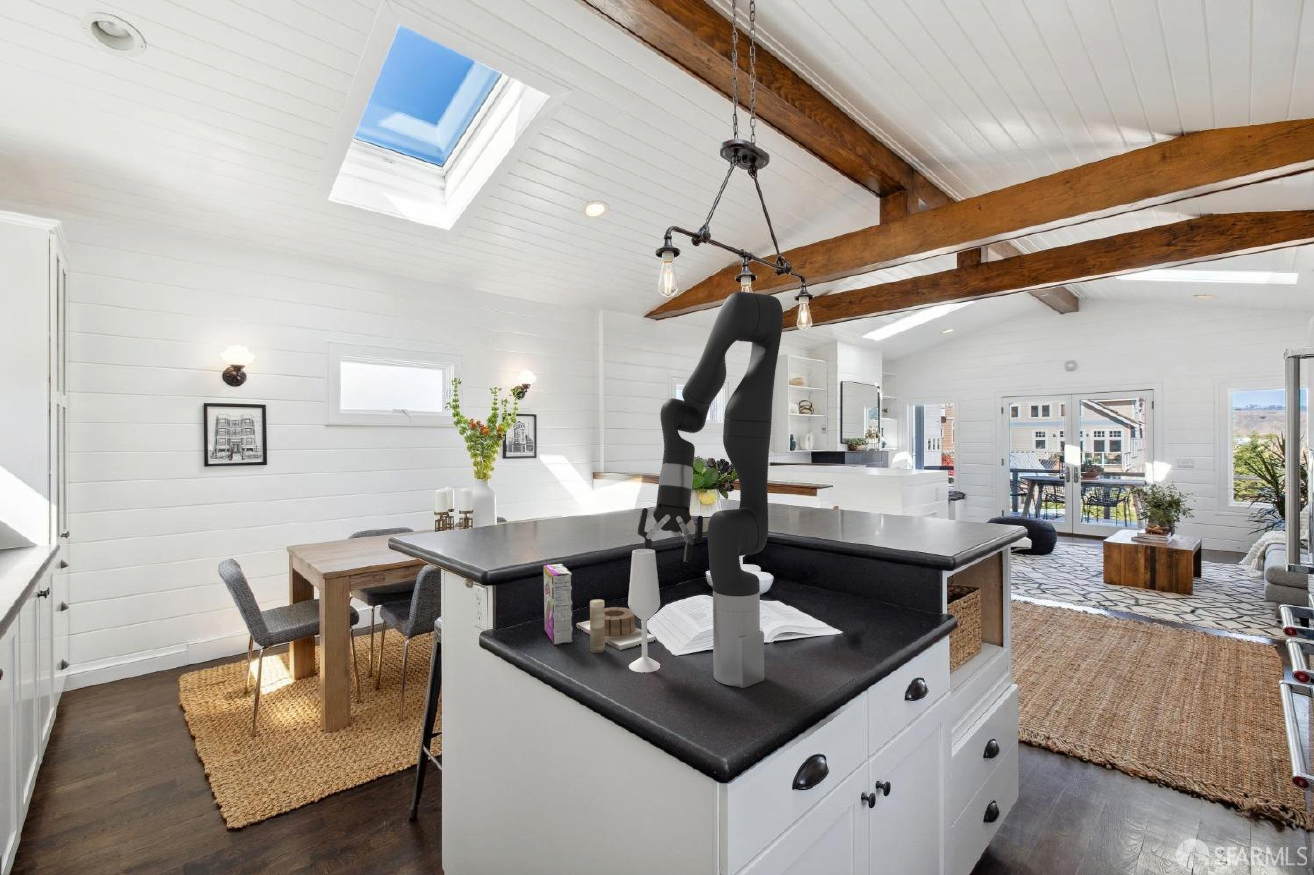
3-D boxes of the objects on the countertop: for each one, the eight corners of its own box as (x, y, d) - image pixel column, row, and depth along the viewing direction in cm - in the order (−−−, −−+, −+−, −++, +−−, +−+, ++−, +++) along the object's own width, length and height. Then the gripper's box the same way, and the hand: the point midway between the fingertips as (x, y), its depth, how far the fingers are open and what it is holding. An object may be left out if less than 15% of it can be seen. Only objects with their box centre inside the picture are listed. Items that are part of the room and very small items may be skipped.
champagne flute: (666, 663, 123) (665, 549, 123) (649, 675, 117) (648, 555, 117) (640, 657, 126) (639, 547, 126) (622, 668, 121) (621, 552, 121)
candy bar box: (543, 631, 145) (542, 564, 145) (563, 628, 147) (562, 563, 147) (552, 645, 134) (551, 574, 134) (573, 642, 136) (573, 572, 136)
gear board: (655, 640, 137) (655, 619, 137) (619, 649, 131) (619, 627, 131) (609, 619, 153) (609, 600, 153) (576, 627, 147) (576, 607, 147)
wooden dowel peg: (607, 650, 131) (607, 601, 131) (595, 653, 129) (594, 604, 129) (600, 646, 133) (599, 598, 133) (587, 649, 131) (587, 601, 131)
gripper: (646, 480, 127) (636, 555, 123) (709, 488, 128) (702, 563, 125) (642, 483, 134) (633, 555, 131) (702, 492, 136) (695, 563, 132)
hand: (667, 559), depth 128 cm, fingers open, 8 cm apart
